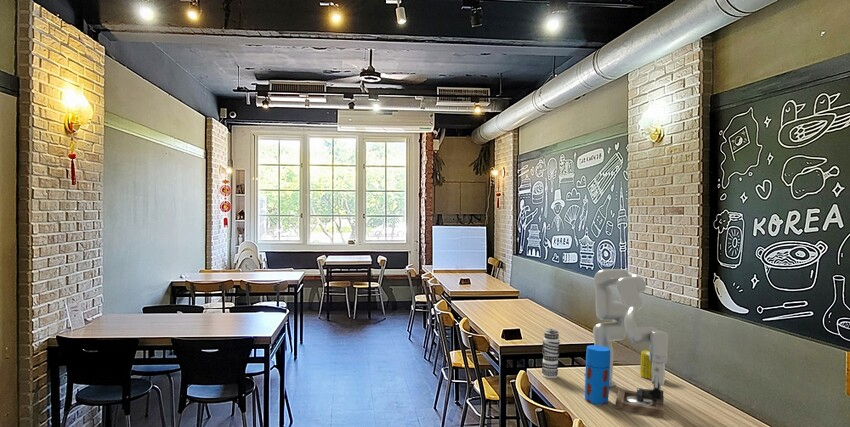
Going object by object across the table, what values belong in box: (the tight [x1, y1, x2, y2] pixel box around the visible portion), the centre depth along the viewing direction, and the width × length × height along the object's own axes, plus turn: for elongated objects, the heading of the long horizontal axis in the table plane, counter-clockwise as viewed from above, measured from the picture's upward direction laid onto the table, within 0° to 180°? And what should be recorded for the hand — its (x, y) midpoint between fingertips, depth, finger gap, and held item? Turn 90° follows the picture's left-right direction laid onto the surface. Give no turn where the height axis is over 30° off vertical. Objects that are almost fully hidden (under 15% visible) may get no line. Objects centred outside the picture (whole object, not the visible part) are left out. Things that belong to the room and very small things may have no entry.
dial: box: [627, 387, 664, 406], centre depth 250 cm, size 16×12×6 cm
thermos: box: [584, 344, 610, 406], centre depth 255 cm, size 11×11×25 cm
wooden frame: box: [614, 388, 665, 418], centre depth 251 cm, size 20×20×3 cm
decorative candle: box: [541, 328, 561, 379], centre depth 291 cm, size 9×9×25 cm
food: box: [639, 349, 652, 380], centre depth 294 cm, size 15×12×10 cm
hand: (656, 398), depth 247 cm, fingers closed
